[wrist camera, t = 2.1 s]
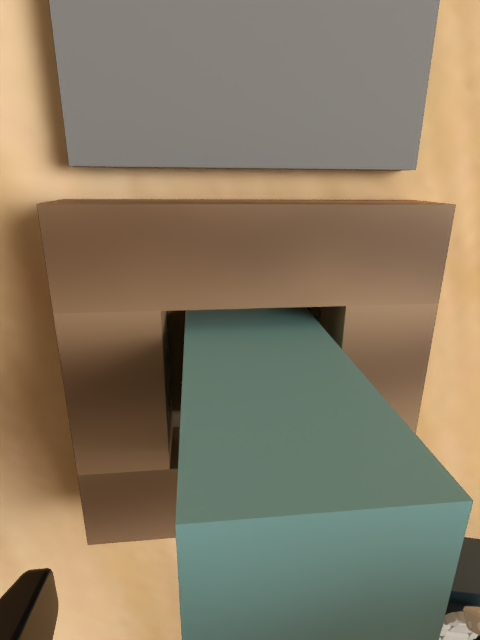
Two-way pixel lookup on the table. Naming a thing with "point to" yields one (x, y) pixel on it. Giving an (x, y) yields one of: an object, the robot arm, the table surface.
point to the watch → (464, 596)
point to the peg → (304, 492)
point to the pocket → (220, 293)
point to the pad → (244, 82)
